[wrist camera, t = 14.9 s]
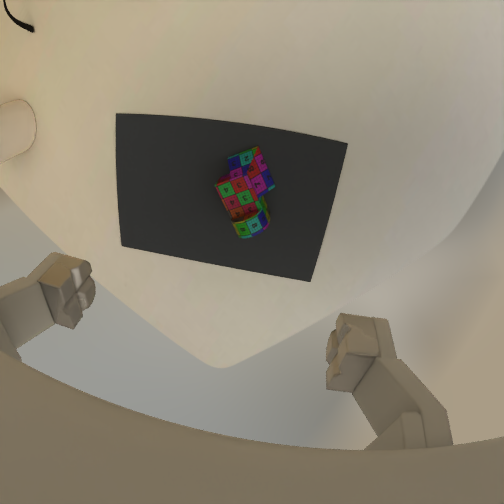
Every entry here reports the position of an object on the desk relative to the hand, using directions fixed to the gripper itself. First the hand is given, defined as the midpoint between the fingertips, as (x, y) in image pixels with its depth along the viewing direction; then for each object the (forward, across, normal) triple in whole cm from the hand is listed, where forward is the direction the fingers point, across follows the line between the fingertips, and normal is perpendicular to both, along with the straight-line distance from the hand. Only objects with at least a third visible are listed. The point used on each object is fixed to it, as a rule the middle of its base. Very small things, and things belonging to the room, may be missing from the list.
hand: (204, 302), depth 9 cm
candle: (+18, +28, -1) cm, 33 cm away
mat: (+18, +4, +5) cm, 19 cm away
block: (+18, +1, +3) cm, 19 cm away
